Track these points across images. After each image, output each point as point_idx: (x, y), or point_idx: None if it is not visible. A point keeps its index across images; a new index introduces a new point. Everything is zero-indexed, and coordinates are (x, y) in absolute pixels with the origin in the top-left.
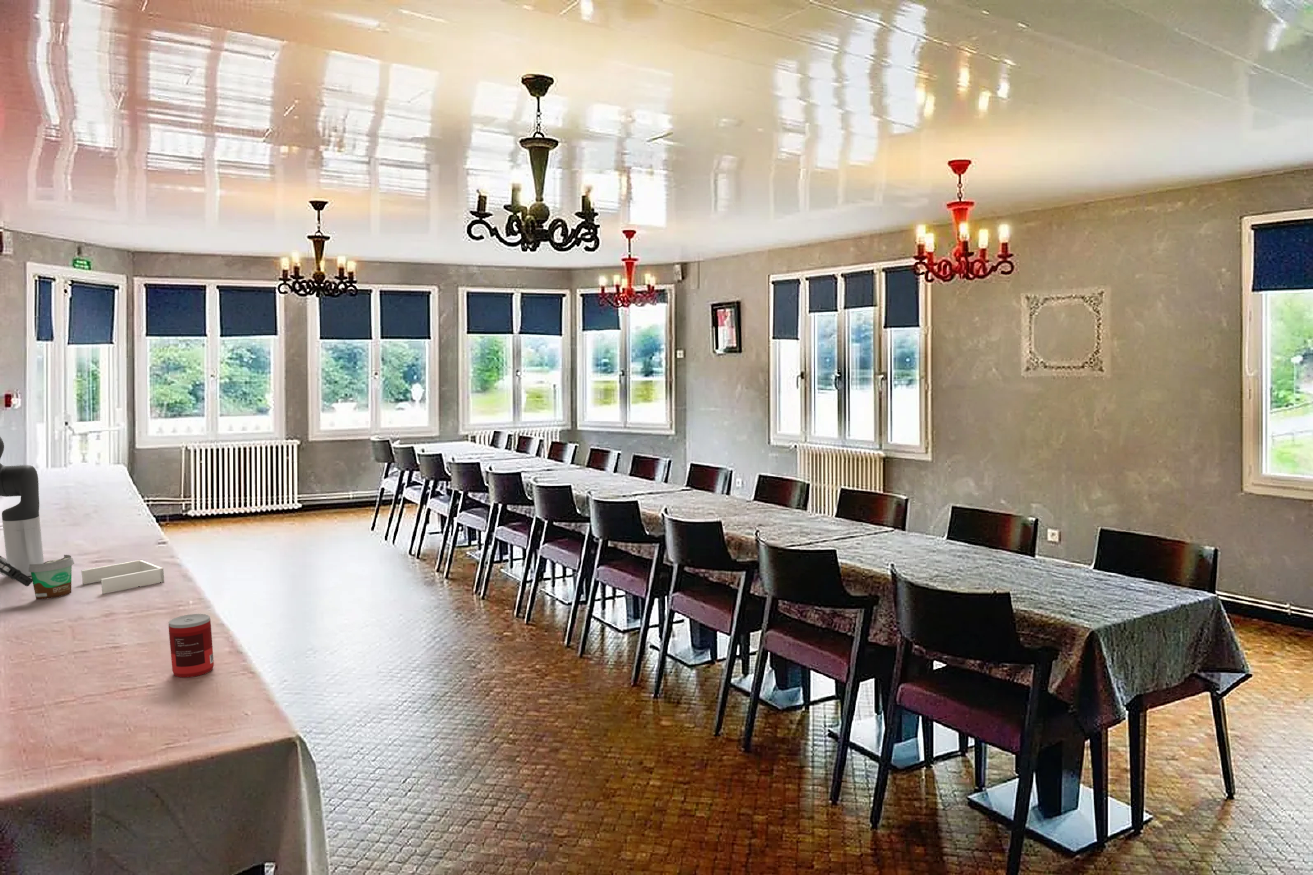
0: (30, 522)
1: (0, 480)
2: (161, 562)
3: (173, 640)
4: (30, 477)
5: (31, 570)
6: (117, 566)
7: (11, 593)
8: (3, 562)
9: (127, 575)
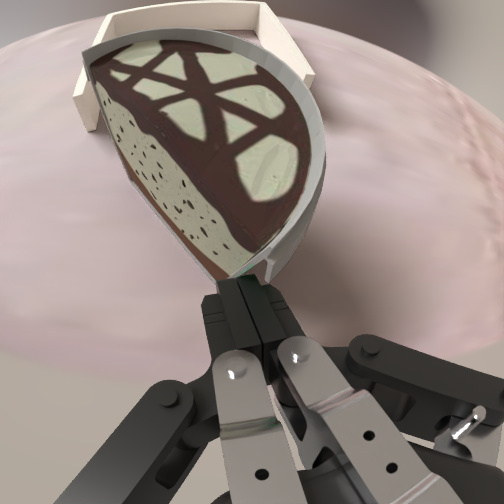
0: None
1: None
2: (57, 34)
3: None
4: None
5: (287, 257)
6: (103, 41)
7: (25, 356)
8: (474, 461)
9: (290, 37)
